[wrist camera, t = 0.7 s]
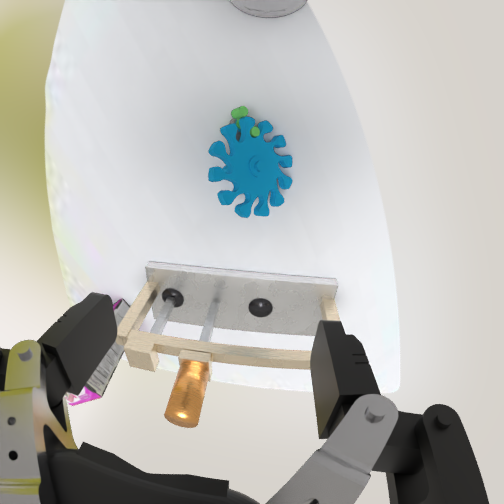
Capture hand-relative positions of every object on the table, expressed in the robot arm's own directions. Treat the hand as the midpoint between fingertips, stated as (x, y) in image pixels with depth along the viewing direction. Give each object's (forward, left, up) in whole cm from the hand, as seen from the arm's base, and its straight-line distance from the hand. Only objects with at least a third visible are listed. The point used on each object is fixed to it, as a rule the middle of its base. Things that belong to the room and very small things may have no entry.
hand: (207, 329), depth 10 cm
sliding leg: (+15, -4, -21) cm, 26 cm away
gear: (-3, 0, -24) cm, 24 cm away
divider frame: (+16, -1, -23) cm, 28 cm away
